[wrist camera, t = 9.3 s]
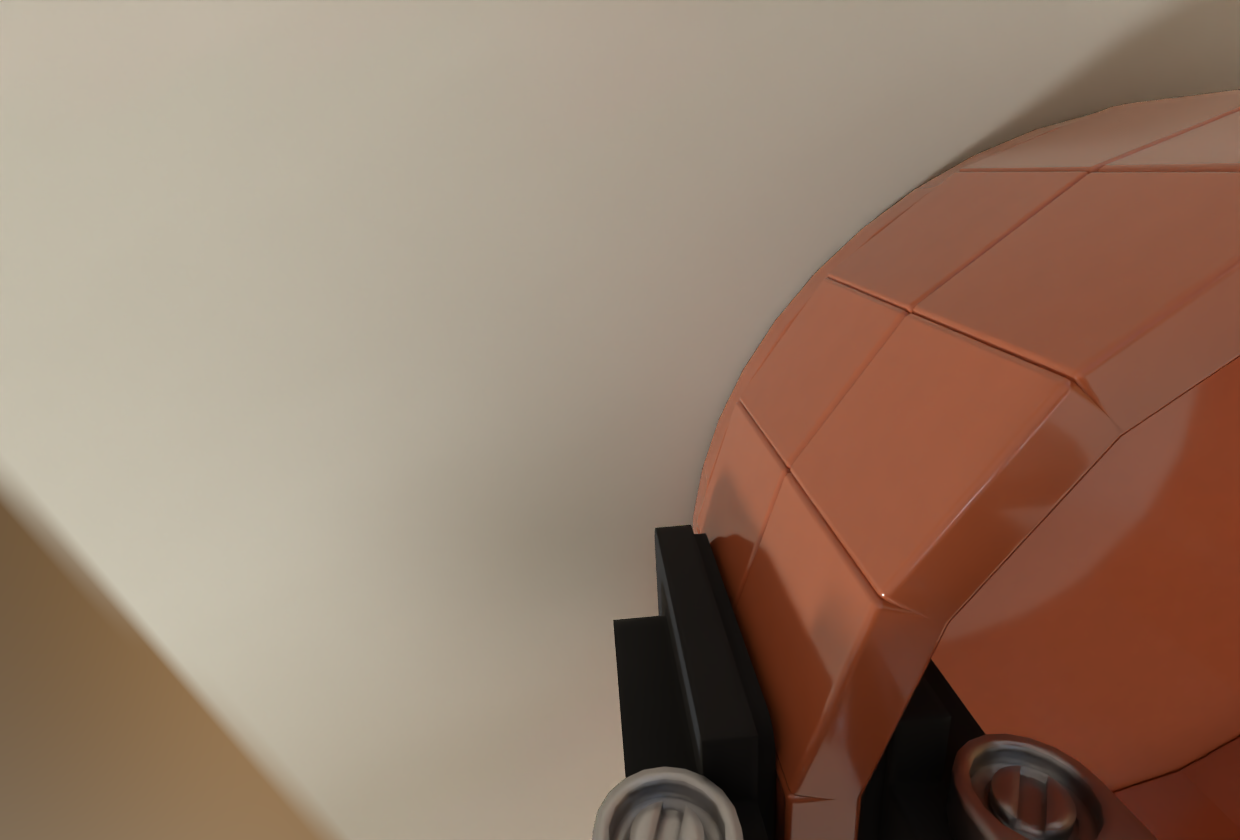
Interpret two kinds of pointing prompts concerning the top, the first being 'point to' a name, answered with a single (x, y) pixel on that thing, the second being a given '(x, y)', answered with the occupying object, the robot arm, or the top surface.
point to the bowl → (1007, 472)
